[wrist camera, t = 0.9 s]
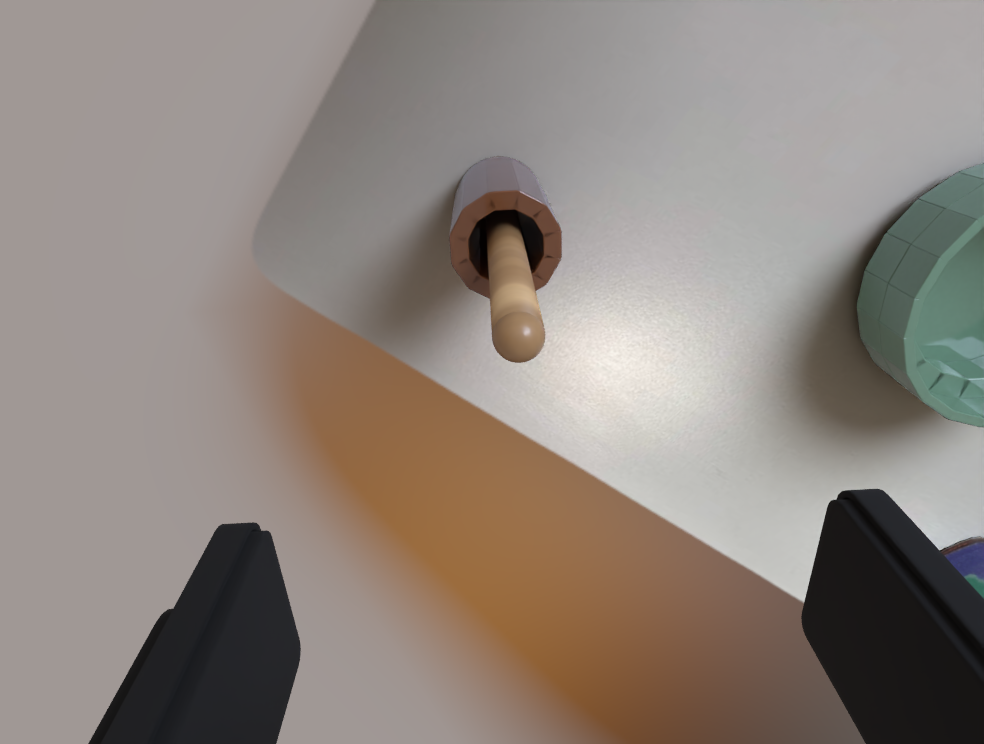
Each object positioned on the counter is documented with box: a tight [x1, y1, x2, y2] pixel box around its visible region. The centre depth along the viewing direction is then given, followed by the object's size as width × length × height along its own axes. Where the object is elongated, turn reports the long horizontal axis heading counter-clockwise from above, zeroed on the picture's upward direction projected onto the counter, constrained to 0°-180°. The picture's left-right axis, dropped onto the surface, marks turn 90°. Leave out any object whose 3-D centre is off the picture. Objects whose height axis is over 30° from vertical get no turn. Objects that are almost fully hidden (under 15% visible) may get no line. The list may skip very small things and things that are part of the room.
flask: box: [940, 537, 984, 598], centre depth 44 cm, size 9×3×11 cm, turn 133°
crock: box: [449, 156, 562, 299], centre depth 31 cm, size 5×5×9 cm
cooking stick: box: [486, 210, 545, 363], centre depth 26 cm, size 2×2×18 cm
